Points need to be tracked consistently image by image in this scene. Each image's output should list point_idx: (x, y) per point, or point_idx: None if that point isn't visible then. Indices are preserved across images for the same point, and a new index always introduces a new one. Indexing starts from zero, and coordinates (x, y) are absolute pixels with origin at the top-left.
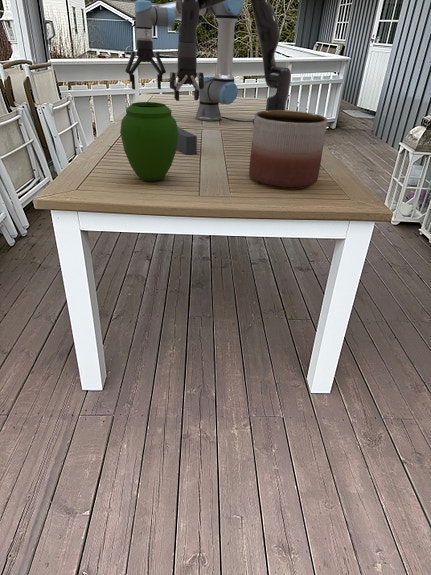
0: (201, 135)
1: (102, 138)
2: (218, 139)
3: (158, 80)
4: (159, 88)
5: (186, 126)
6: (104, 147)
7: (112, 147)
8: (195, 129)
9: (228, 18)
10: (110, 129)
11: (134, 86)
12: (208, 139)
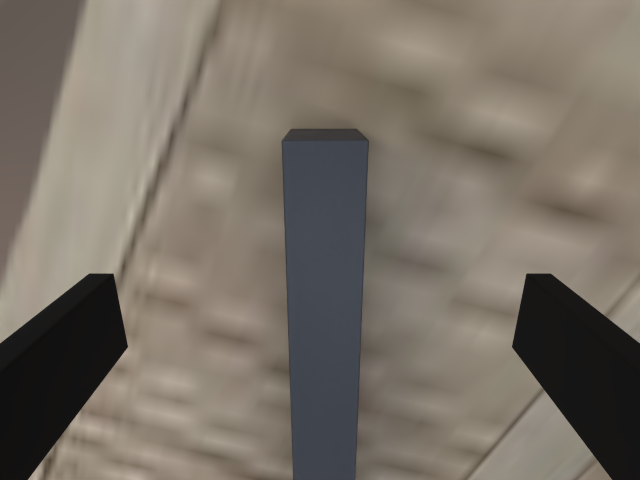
0: None
1: (9, 320)
2: (564, 469)
3: (594, 403)
4: (517, 350)
5: (631, 143)
6: None
7: (52, 470)
8: (619, 249)
9: None
10: (67, 97)
11: (97, 374)
12: (520, 459)
